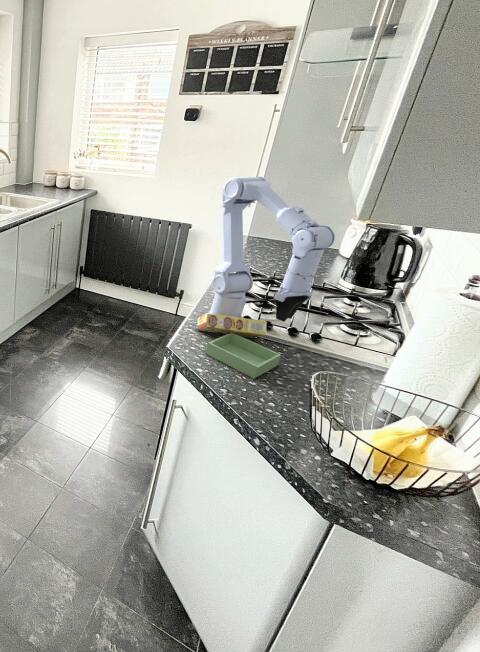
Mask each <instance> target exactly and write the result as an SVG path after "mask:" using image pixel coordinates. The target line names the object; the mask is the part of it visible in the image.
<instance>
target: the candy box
mask: <svg viewBox="0 0 480 652" xmlns="http://www.w3.org/2000/svg"><path fill="white" fill-rule="evenodd" d="M204 314H205V313H204ZM204 314H203V315H201V316H199V317H198V319H197V331H202V332H208V333H216V334H224V335H226V334H229V333H231V332H232V333H234V334H237V335H239V336H241V337H244V338H245V337H246V338H252V339H253V338H258V337H264V336H267V325H268V321H266V320H260V319H252V318H237V317H230V316H222V315H215V314H205V315H204Z"/></svg>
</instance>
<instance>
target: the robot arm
mask: <svg viewBox="0 0 480 652" xmlns="http://www.w3.org/2000/svg"><path fill="white" fill-rule="evenodd" d="M255 202H258V203H259V204H260V205H262V206H263V207H264V208H265V209H267V210H268V211H270V212H271V213H272V214H273V215H275V216H276V218H275V222H276V224H277V225H278V226H279V227H280V228H281V229H282V230H283V231H285V232H286V233H287V234H288V235H289V236H290V237H291V243H292V250H291V252H292V256H291V258H290V260H289V263H288V265H287V269H286V272H285V275H284V278H283V280H282V283H280V286H279V289H278V291H276V292H275V293H274V295H273V299H274V302H275V319H276V320H278V321H281V322H286V321H287V320H288V319H292V318H293V317H294V315H296V313H297V311H298V310H299V308H301V306H302V305H303V304H304V303H305V302H306V301H307V300H309V299H310V298H311V297H312V296H314V291H311V289H312V286H313V280H314V277H315V274H316V273H317V270H318V267H319V265H320V261H321V259H322V257H323V254H324V252H325V250H326V249H328V248H330V247H331V246H333V244H334V242H335V238H336V236H335V233H334V230H333V229H332V228H331V227H330V226H328V225H321V224H319V223H318V221H316V220H315V219H314V220H313V219H312V218H311V217H310V216H309V215H308V214H306V213H305V209H304V208H303V207H298V206H289V205H288V203H287V202H285V201H284V199H282V198H281V196H280V195H279V194H277V192H276V191H275V190H274V189H273V188H272V187H271V182H270V181H268V180H266V178H265V177H264V176H254V177H250V176H249V177H231V178H229V179H228V180H227V181H226V182H225V183H224V184H223V185H222V187H221V205H220V206H221V207H220V209H221V212H220V215H221V216H220V217H221V260H222V261H221V262H222V263H221V264H220V265H219V266H217V267H216V268H215V269H214V275H213V279H212V283H211V285H212V288H213V290H214V291H213V292H215V293H214V297H213V300H212V304H211V308H210V311H208V312H206V313H203V315H205V314H215V315H222V316H230V317H237V318H244V316H242V314H243V312H244V309H245V305H246V303H247V297H246V293H247V292H249V291H251V289H252V288H253V285H254V279H253V277H252V274H251V268H250V266H248V265H247V264H246V263H244V225H243V223H244V221H243V220H244V219H243V211H244V210H246V208H247V207H248V206H249V205H251V204H253V203H255Z"/></svg>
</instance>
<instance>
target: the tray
mask: <svg viewBox="0 0 480 652" xmlns="http://www.w3.org/2000/svg"><path fill="white" fill-rule="evenodd" d="M204 354H206V355H208V356H209V357H211V358H213V359H216V360H218V361H219V362H221V363H222V364H225V365H226V366H229V367H231V368H232V369H235V370H237V371H238V372H240V373H243V374H244V375H245V376H248V377H250V378H251V379H256V378H258V377H259V376H262V375H263V374H265V373H267V372H269V371H270V370H273V369H274V368H276V367H277V366H278V364H279V362H280V360H281V357H282V354H281V353H278V352H276V351H274V350H272V349H270V348H268V347H265V346H263V345H261V344H259V343H256V342H254V341H252V340H250V339H248V338H245V337H244V336H239V335H237V334H234V333H232V332H231V333H229V334H224V335H222V336H220V337H218V338H215V339H213V340H211V341H209V342H207V345H206V349H205V353H204Z"/></svg>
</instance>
